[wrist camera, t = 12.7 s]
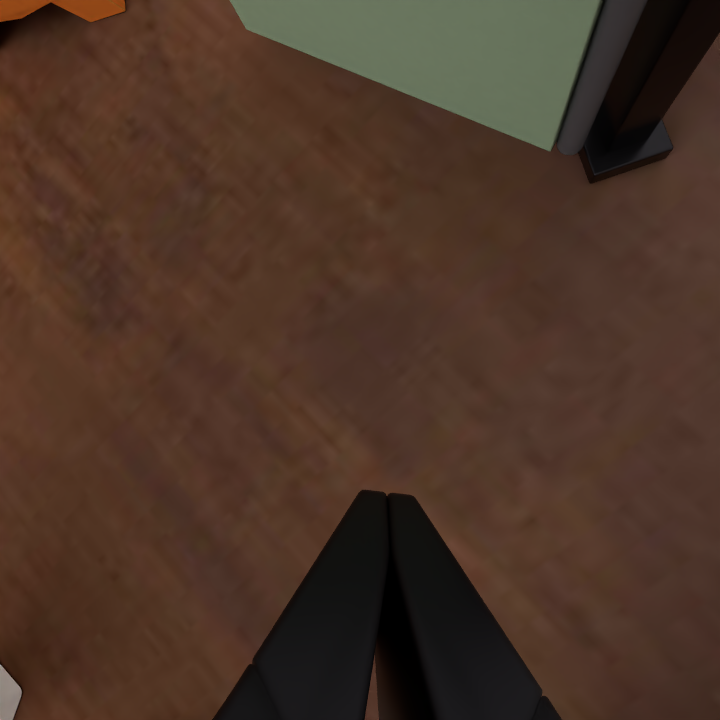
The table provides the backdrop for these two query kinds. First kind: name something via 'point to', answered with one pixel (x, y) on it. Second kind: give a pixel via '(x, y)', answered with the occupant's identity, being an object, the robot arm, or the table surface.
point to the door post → (648, 86)
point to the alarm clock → (88, 3)
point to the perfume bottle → (8, 695)
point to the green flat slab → (470, 54)
